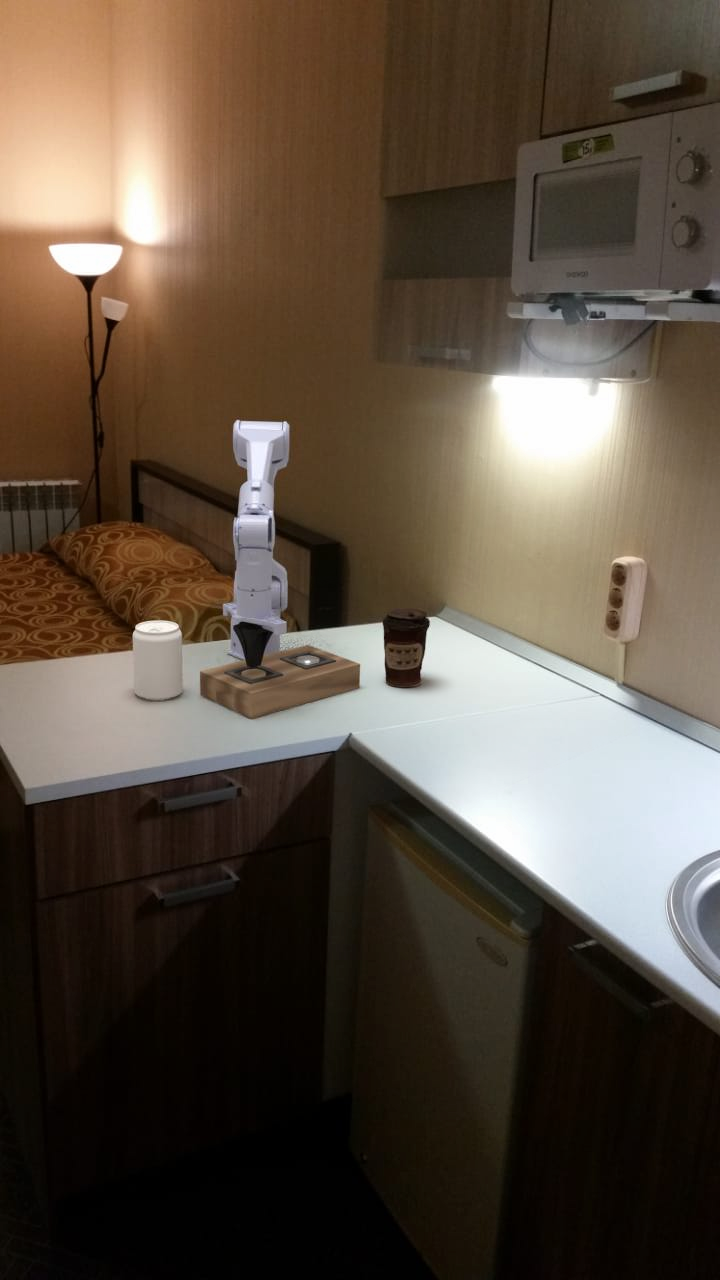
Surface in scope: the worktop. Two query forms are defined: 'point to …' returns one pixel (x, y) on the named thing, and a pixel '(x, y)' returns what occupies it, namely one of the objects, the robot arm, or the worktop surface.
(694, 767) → the worktop surface
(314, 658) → the metal peg
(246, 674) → the maple peg
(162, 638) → the beverage can
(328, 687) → the socket block
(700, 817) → the worktop surface
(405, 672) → the coffee cup
